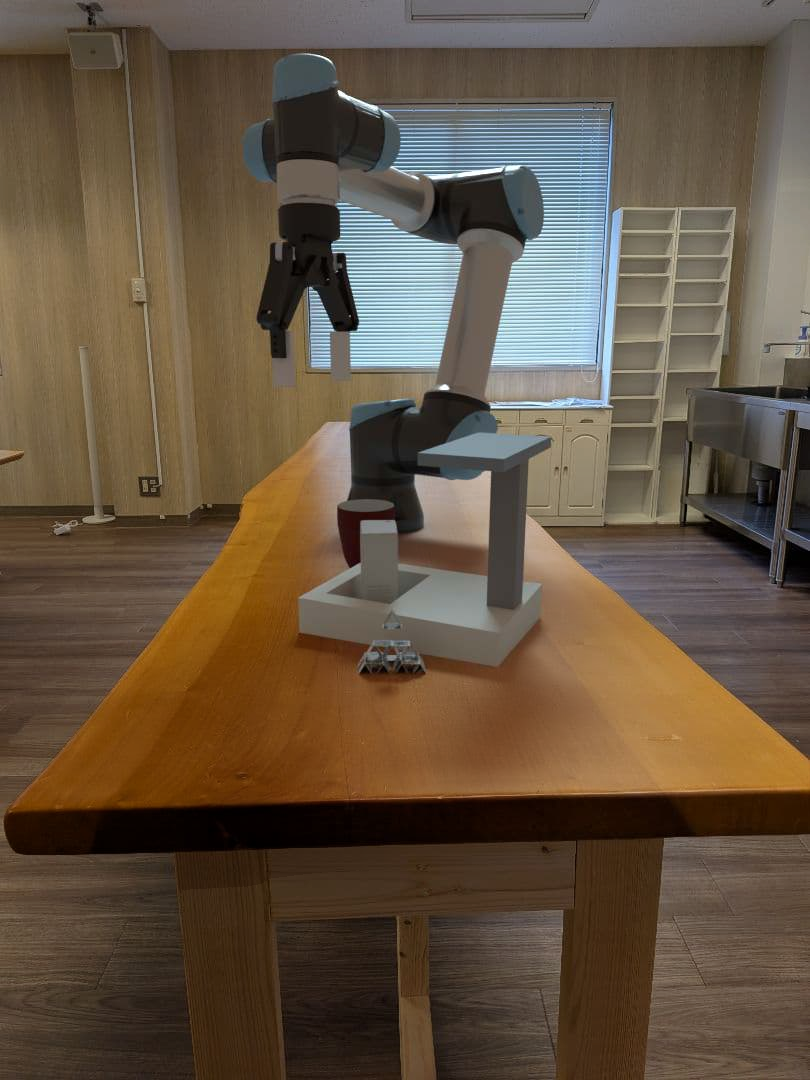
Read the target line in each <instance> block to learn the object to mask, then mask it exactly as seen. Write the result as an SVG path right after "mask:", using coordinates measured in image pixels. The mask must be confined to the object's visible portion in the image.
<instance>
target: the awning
mask: <svg viewBox="0 0 810 1080" xmlns="http://www.w3.org/2000/svg"><path fill="white" fill-rule="evenodd" d="M497 433H498V432H497ZM497 433H480V432H478V433H475V434H472V435H469V436H466V437H463V438H460V439H457V440H454V441H451V442H448V443H445V444H442V445H439V446H436V447H433V448H430V449H427V450H424V451H421V452H418V465H420V466H432V467H445V468H457V469H469V470H482V471H484V472H490V487H489V488H490V491H489V492H490V494H489V496H490V497H489V519H488V521H489V523H488V554H487V555H488V556H487V557H488V558H487V576H488V579H487V606H491V607H498V608H504V609H510V610H514V609H515V608H516V607H517V606H518V605H519V604H520V603H521V602H522V591H523V581H524V569H525V568H524V566H525V565H524V563H525V547H526V542H525V541H526V523H527V522H526V521H527V505H528V504H527V503H528V481H529V460H530V459H531V458H533V457H536V456H537V455H539V454H540V453H543V452H545V451H547V450H549V449H551V447H552V436H549V435H531V434H530V435H529V434H514V433H513V434H512V433H511V434H510V433H498V434H497Z"/></svg>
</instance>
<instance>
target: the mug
mask: <svg viewBox="0 0 810 1080" xmlns="http://www.w3.org/2000/svg"><path fill="white" fill-rule="evenodd" d="M336 507H337V508H336V519H337V529H338V533H339V539H340V544H341V549H342V553H343V558H344V560H345V562H346V564H347V566H348V569H350V568H352V567H354V566H355V565H357V564H359V563H361V551H360V523H361V521H363V520H395V505H394V504H393V503H391V502H389V501H384V500H376V499H359V500H350V501H347V500H346V501H342V502H340V503H338V504H337V506H336Z"/></svg>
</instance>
